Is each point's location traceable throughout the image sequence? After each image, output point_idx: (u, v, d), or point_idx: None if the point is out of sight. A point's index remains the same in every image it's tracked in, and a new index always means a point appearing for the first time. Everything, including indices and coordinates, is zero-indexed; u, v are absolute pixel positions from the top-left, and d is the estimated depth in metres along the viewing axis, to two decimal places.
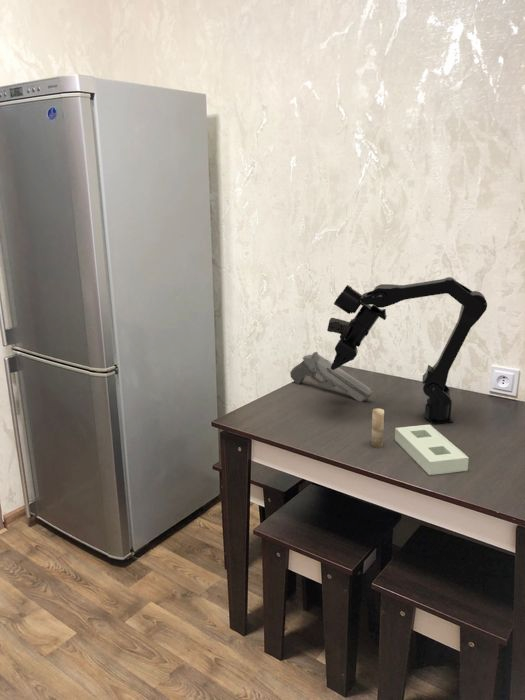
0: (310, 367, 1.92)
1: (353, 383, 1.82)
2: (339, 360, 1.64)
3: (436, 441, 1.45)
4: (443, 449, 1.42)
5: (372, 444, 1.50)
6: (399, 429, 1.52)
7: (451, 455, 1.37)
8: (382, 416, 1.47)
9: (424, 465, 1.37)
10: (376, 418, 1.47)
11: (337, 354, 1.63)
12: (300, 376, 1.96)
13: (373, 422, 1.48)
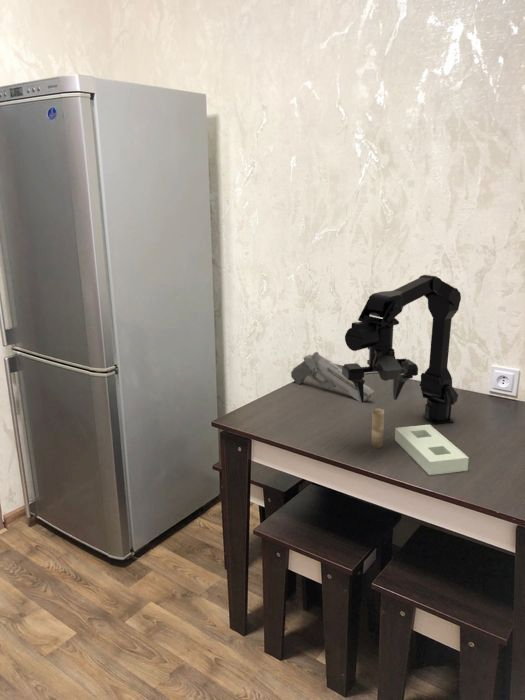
0: (311, 367, 1.92)
1: None
2: None
3: (436, 441, 1.45)
4: (443, 449, 1.42)
5: (372, 444, 1.50)
6: (399, 429, 1.52)
7: (451, 455, 1.37)
8: (382, 416, 1.47)
9: (424, 465, 1.37)
10: (376, 418, 1.47)
11: None
12: (301, 377, 1.96)
13: (373, 422, 1.48)
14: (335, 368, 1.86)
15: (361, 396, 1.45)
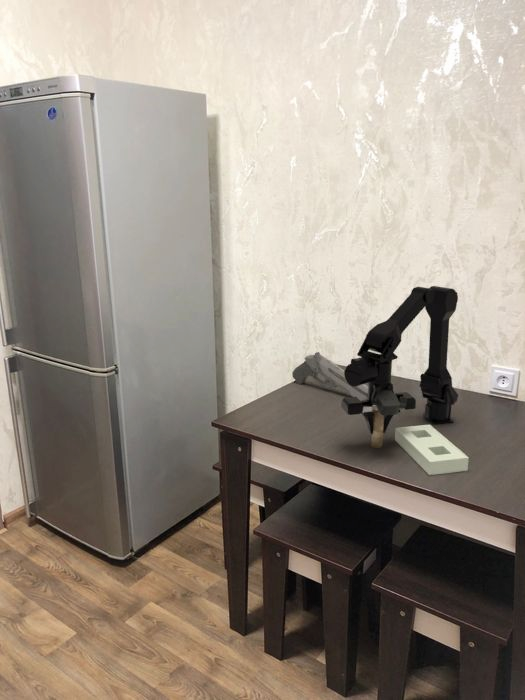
0: (312, 367, 1.91)
1: None
2: None
3: (436, 441, 1.45)
4: (443, 449, 1.42)
5: (372, 444, 1.50)
6: (399, 429, 1.52)
7: (451, 455, 1.37)
8: (382, 416, 1.47)
9: (424, 465, 1.37)
10: (376, 418, 1.47)
11: None
12: (302, 377, 1.96)
13: (373, 422, 1.48)
14: (336, 368, 1.86)
15: (371, 428, 1.48)
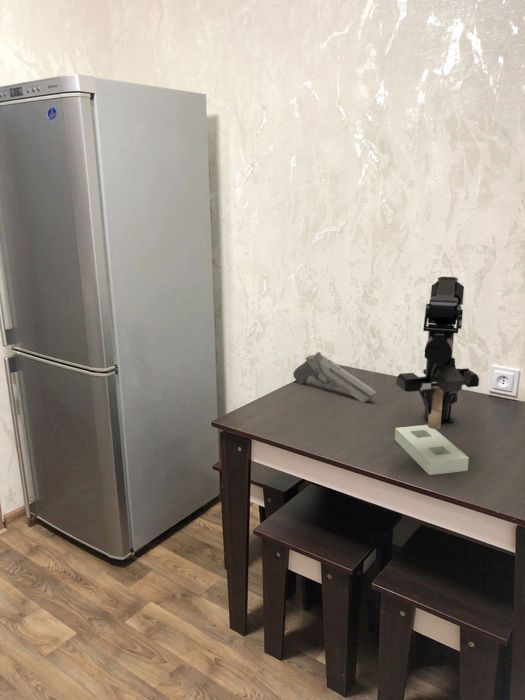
0: (313, 367, 1.91)
1: (356, 384, 1.81)
2: None
3: (436, 441, 1.45)
4: (443, 449, 1.42)
5: (429, 425, 1.38)
6: (399, 429, 1.52)
7: (451, 455, 1.37)
8: (441, 394, 1.35)
9: (424, 465, 1.37)
10: (434, 397, 1.35)
11: None
12: (303, 377, 1.96)
13: None
14: (337, 368, 1.85)
15: (429, 407, 1.36)
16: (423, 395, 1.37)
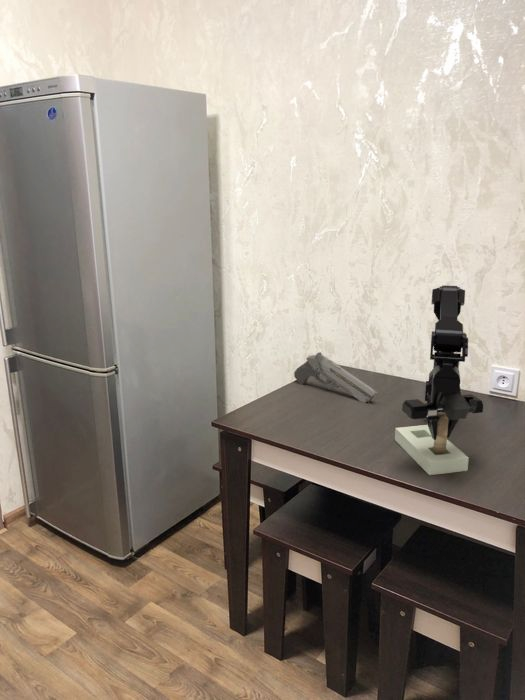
0: (314, 367, 1.91)
1: (356, 384, 1.81)
2: None
3: None
4: None
5: (435, 451, 1.39)
6: (399, 429, 1.52)
7: (451, 455, 1.37)
8: (447, 420, 1.36)
9: (424, 465, 1.37)
10: (440, 423, 1.36)
11: None
12: (304, 377, 1.96)
13: (437, 427, 1.37)
14: (338, 368, 1.85)
15: (434, 433, 1.37)
16: (428, 421, 1.38)
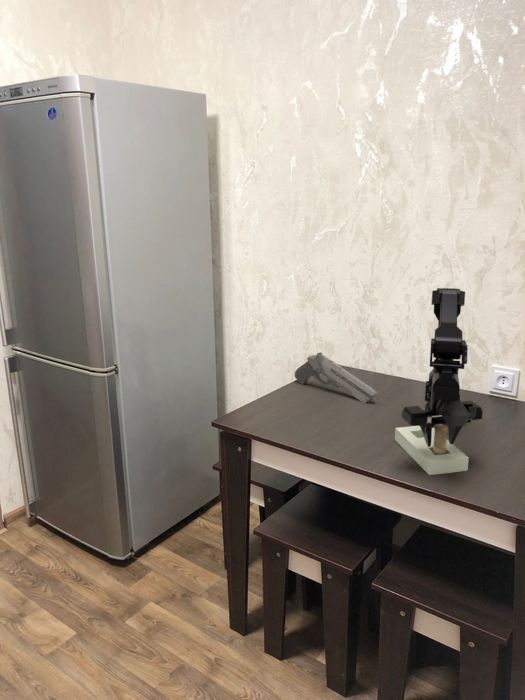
0: (314, 367, 1.91)
1: (357, 384, 1.81)
2: None
3: None
4: None
5: None
6: (399, 429, 1.52)
7: (451, 455, 1.37)
8: (446, 432, 1.37)
9: (424, 465, 1.37)
10: (439, 435, 1.37)
11: None
12: (304, 377, 1.96)
13: (436, 439, 1.38)
14: (338, 369, 1.85)
15: (429, 440, 1.37)
16: (423, 428, 1.38)
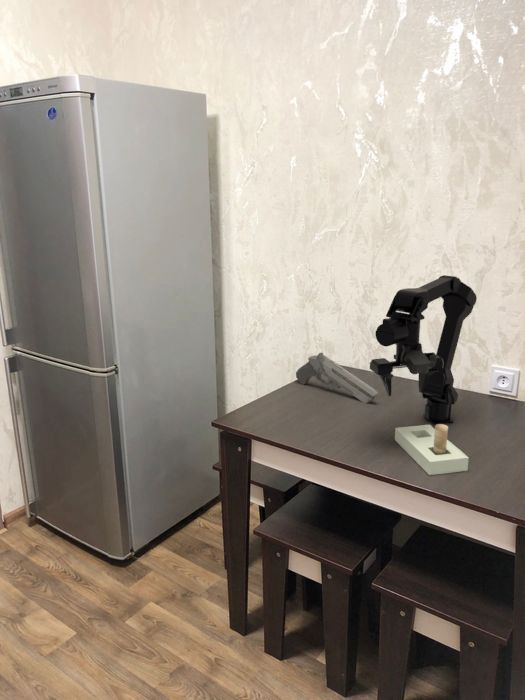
0: (315, 368, 1.91)
1: (358, 384, 1.81)
2: None
3: None
4: None
5: None
6: (399, 429, 1.52)
7: (451, 455, 1.37)
8: (446, 433, 1.37)
9: (424, 465, 1.37)
10: (439, 435, 1.37)
11: None
12: (305, 377, 1.96)
13: (436, 439, 1.38)
14: (339, 369, 1.85)
15: (389, 390, 1.49)
16: (384, 379, 1.50)
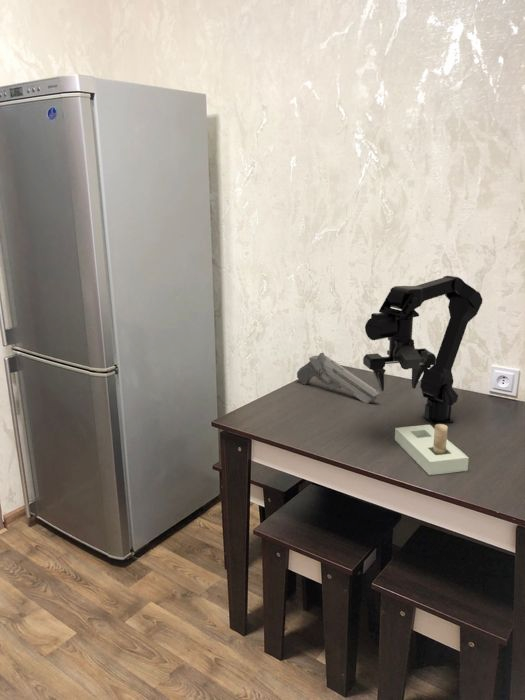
0: (316, 368, 1.91)
1: (359, 384, 1.80)
2: None
3: None
4: None
5: None
6: (399, 429, 1.52)
7: (451, 455, 1.37)
8: (446, 432, 1.37)
9: (424, 465, 1.37)
10: (439, 435, 1.37)
11: None
12: (306, 377, 1.95)
13: (436, 439, 1.38)
14: (340, 369, 1.85)
15: (381, 385, 1.52)
16: (377, 374, 1.53)
